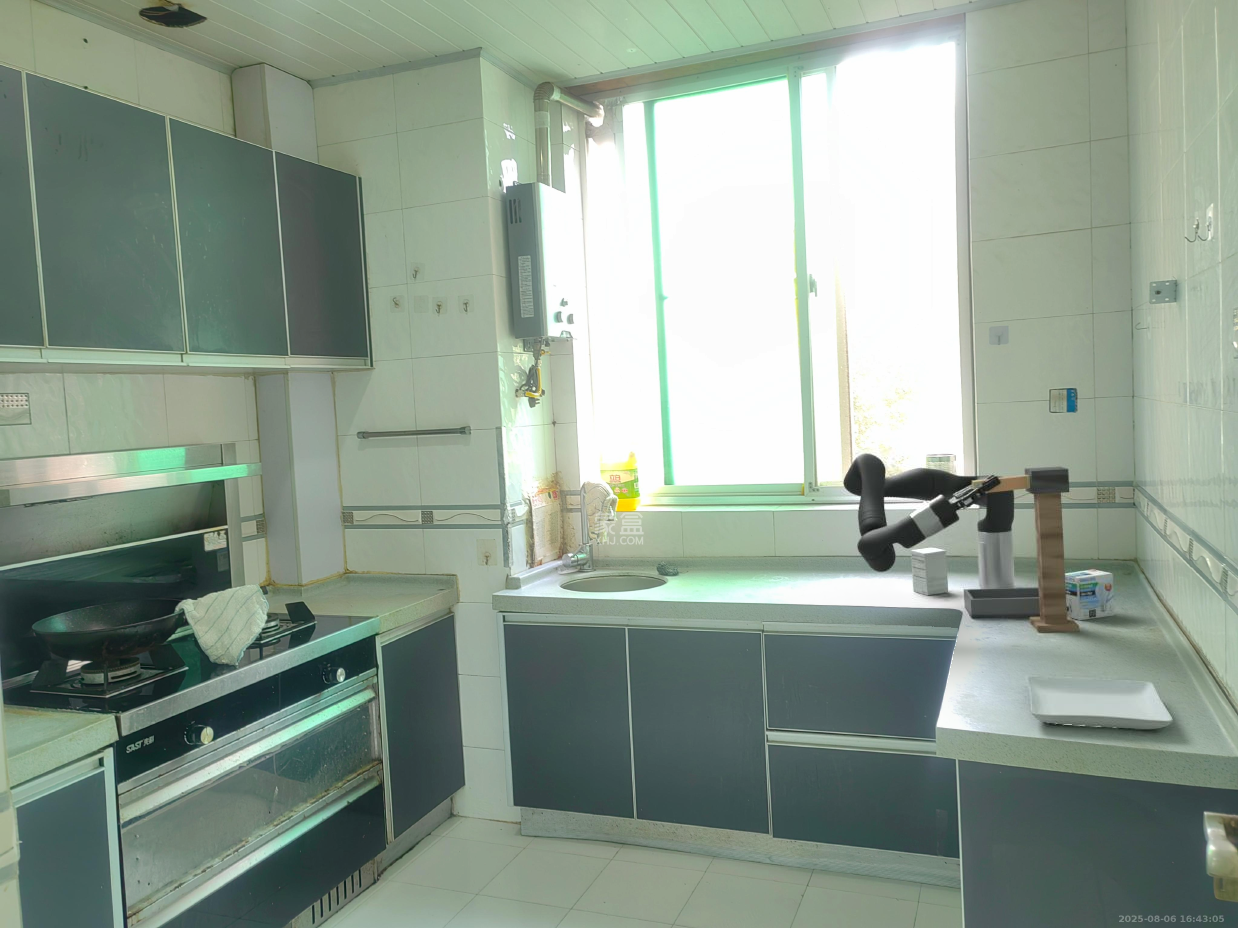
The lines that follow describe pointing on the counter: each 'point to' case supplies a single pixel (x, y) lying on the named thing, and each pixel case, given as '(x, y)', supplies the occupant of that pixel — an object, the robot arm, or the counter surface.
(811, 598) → the counter surface
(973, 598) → the tray
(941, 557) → the supplement box
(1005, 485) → the tan wooden bar
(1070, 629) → the stand
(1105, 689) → the salad plate
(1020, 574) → the counter surface
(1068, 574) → the light bulb box
